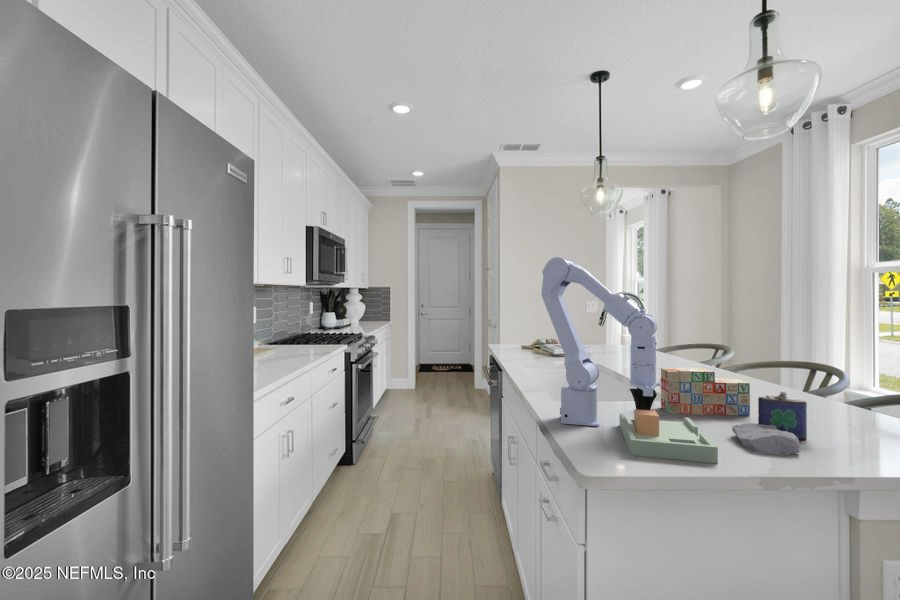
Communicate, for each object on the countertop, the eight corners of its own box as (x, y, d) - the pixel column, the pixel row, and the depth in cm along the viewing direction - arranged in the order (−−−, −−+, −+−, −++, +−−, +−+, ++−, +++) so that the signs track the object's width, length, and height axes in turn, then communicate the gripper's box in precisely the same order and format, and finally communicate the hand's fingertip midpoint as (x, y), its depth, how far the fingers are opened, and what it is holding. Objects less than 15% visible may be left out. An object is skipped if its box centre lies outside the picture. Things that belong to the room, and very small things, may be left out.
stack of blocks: (738, 410, 123) (738, 368, 122) (750, 416, 116) (750, 372, 116) (660, 407, 126) (660, 366, 126) (668, 413, 120) (668, 370, 119)
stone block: (755, 462, 89) (806, 455, 88) (750, 439, 90) (801, 432, 88) (727, 444, 101) (772, 438, 100) (722, 424, 101) (767, 418, 100)
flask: (804, 437, 99) (804, 392, 99) (809, 441, 96) (809, 394, 96) (756, 432, 103) (757, 388, 102) (759, 436, 100) (760, 391, 100)
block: (637, 434, 95) (637, 414, 95) (634, 428, 100) (634, 409, 100) (659, 436, 94) (659, 415, 94) (655, 429, 98) (655, 410, 98)
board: (630, 455, 88) (630, 439, 88) (619, 425, 108) (619, 412, 108) (717, 463, 84) (717, 447, 84) (688, 430, 104) (689, 417, 104)
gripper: (667, 369, 95) (667, 429, 95) (655, 360, 109) (655, 412, 109) (634, 368, 97) (633, 426, 97) (625, 359, 111) (625, 410, 111)
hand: (642, 419), depth 104 cm, fingers closed
